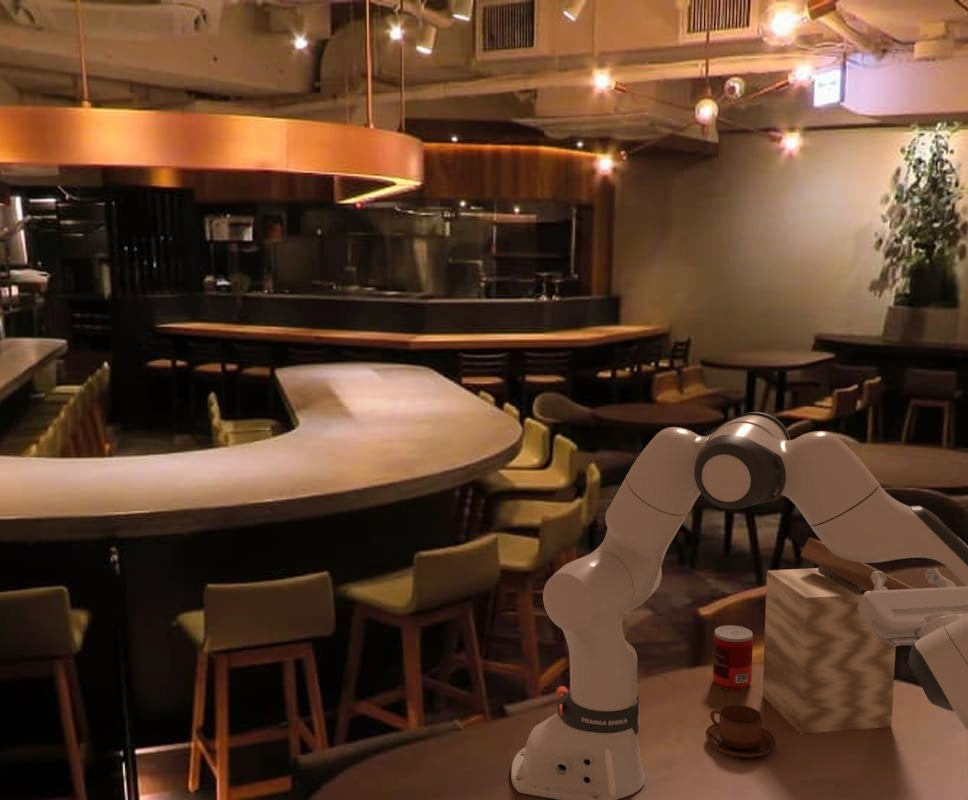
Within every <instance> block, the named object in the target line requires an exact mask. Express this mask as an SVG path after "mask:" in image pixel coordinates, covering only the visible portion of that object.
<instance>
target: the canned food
mask: <svg viewBox="0 0 968 800" xmlns="http://www.w3.org/2000/svg"><path fill="white" fill-rule="evenodd" d="M753 639H754V634H753V632H752V630H751V629H749V628H747V627H744V626H741V625H730V624H729V625H728V624H727V625H721V626H717V627H716V628H715V629H714V633H713V661H712V662H713V663H712V665H713V666H712V671H713V672H712V677H713V679H712V680H713V682H714V684H715V685H717V686H718V687H719V686H720V688H722V687H723V688H722V689H725V688H727V689H726V690H729V689H733V690H732V691H738V690H739V691H740V689H742V690H745V689H747V688H749V687H750V686H751V683H752V673H753V649H754V646H753V645H754V641H753ZM749 685H750V686H749ZM748 686H749V687H748ZM744 688H745V689H744Z"/></svg>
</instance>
